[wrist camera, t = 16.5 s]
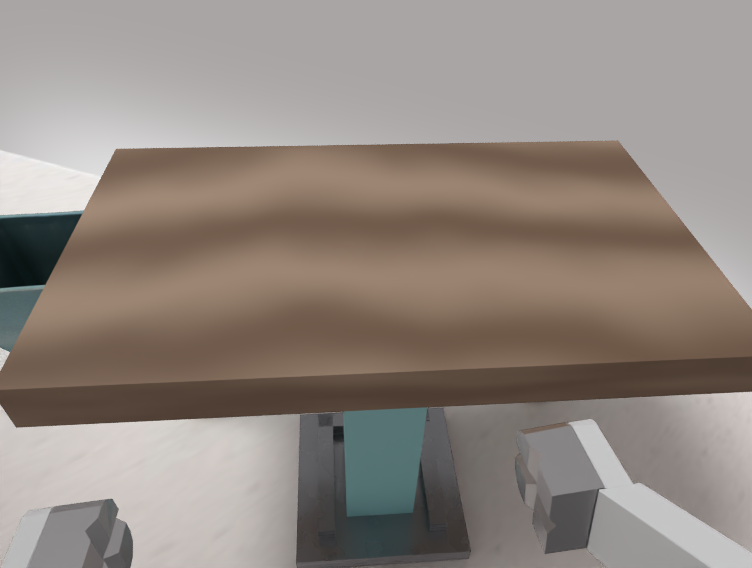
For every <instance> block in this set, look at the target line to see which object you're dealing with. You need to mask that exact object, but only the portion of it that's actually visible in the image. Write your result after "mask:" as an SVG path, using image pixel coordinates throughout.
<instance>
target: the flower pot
mask: <svg viewBox="0 0 752 568" xmlns="http://www.w3.org/2000/svg"><path fill="white" fill-rule="evenodd" d="M83 212H84V210H83V211H72V212H56V213H37V214H16V215H0V348H2V349H4V350H7V351H9V352H11V350H12V348H13V346H14V344H15V342H16V341H17V339H18V337H19V335H20V333H21V331H22V329H23V327H24V325H25V323H26V321H27V319H28V318H29V316H30V314H31V312H32V310H33V308H34V306H35V304H36V302H37V300H38V298H39V296H40V294H41V293H42V291H43V289H44V287H45V285H46V283H47V281H48V279H49V277H50V275H51V273H52V271H53V269H54V268H55V266H56V264H57V262H58V260H59V258H60V256H61V254H62V252H63V250H64V248H65V246H66V244H67V243H68V241H69V239H70V237H71V235H72V233H73V231H74V229H75V227H76V225H77V223H78V221H79V219H80V218H81V216H82V214H83Z"/></svg>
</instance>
